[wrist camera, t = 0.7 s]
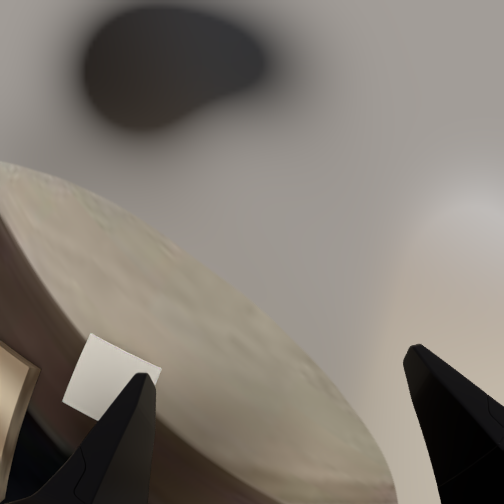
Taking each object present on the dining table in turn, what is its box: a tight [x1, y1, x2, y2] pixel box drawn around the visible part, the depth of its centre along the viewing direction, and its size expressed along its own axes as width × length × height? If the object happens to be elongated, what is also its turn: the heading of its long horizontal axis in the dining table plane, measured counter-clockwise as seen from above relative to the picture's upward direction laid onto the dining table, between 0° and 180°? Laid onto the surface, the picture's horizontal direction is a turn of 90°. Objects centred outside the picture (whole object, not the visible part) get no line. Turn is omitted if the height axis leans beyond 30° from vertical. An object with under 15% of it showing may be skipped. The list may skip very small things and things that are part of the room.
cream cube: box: [62, 333, 162, 421], centre depth 17 cm, size 5×5×5 cm
